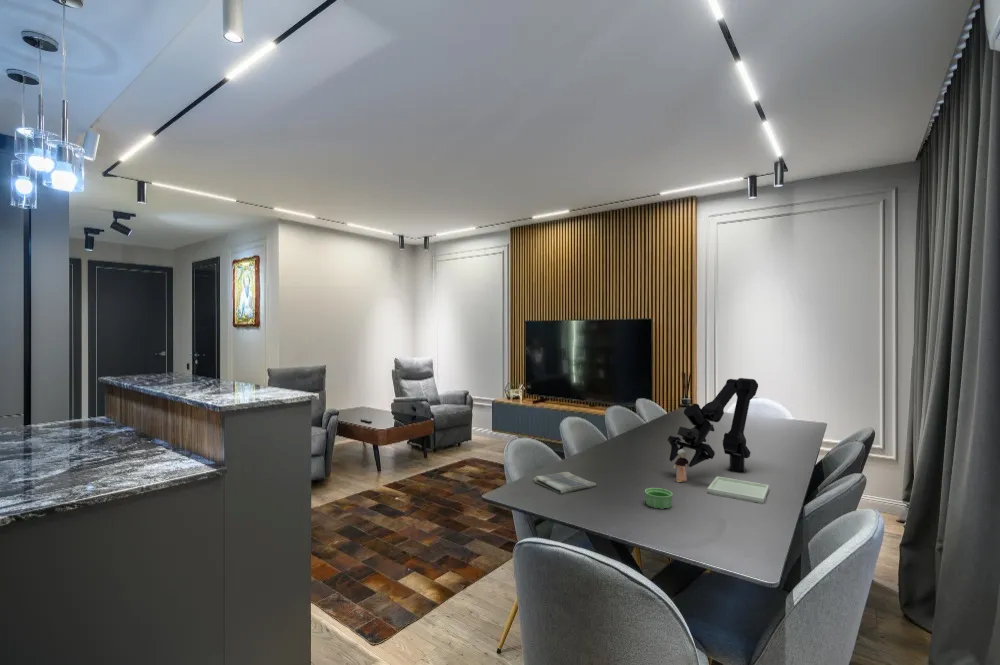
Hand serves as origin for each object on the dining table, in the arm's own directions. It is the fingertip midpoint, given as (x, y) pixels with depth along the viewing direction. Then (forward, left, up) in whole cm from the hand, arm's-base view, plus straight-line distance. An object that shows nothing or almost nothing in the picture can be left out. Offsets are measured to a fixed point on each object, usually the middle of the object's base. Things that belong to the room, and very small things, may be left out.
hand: (679, 463), depth 187 cm
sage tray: (-1, +21, -7) cm, 22 cm away
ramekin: (+30, +1, -7) cm, 31 cm away
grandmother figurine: (-1, +1, -7) cm, 7 cm away
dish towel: (+29, -35, -8) cm, 46 cm away
